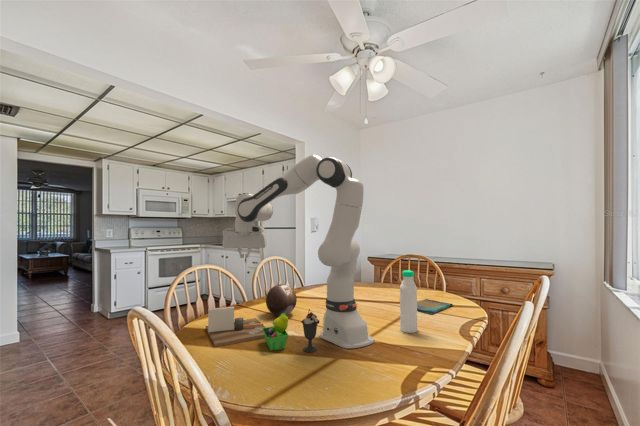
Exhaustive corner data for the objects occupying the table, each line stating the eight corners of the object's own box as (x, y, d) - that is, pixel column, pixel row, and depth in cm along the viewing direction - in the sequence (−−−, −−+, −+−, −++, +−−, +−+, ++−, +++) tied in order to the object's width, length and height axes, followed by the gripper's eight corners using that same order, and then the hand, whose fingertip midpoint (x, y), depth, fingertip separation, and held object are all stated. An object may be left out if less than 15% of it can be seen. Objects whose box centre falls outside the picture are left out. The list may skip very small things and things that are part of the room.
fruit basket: (261, 341, 118) (262, 311, 119) (284, 338, 121) (284, 309, 122) (267, 352, 108) (267, 320, 108) (292, 349, 111) (292, 317, 111)
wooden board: (272, 336, 123) (272, 332, 123) (214, 347, 112) (215, 343, 112) (255, 320, 142) (255, 317, 142) (205, 328, 132) (205, 325, 132)
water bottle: (418, 329, 131) (417, 270, 131) (416, 334, 124) (415, 272, 125) (401, 326, 134) (401, 269, 134) (398, 332, 127) (398, 271, 128)
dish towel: (401, 309, 163) (401, 304, 163) (424, 301, 179) (424, 296, 179) (432, 316, 150) (431, 311, 150) (453, 307, 166) (453, 302, 166)
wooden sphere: (283, 322, 140) (283, 289, 141) (259, 316, 148) (259, 285, 149) (302, 313, 153) (302, 283, 153) (279, 309, 161) (279, 280, 161)
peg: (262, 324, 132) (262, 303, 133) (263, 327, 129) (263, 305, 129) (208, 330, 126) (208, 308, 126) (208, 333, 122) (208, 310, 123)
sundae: (305, 355, 106) (305, 311, 106) (298, 348, 111) (297, 306, 112) (322, 351, 109) (322, 308, 109) (314, 344, 115) (314, 304, 115)
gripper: (220, 228, 141) (220, 258, 141) (264, 228, 141) (264, 258, 140) (224, 228, 147) (224, 257, 147) (267, 228, 147) (267, 257, 147)
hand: (244, 257), depth 144 cm, fingers closed
